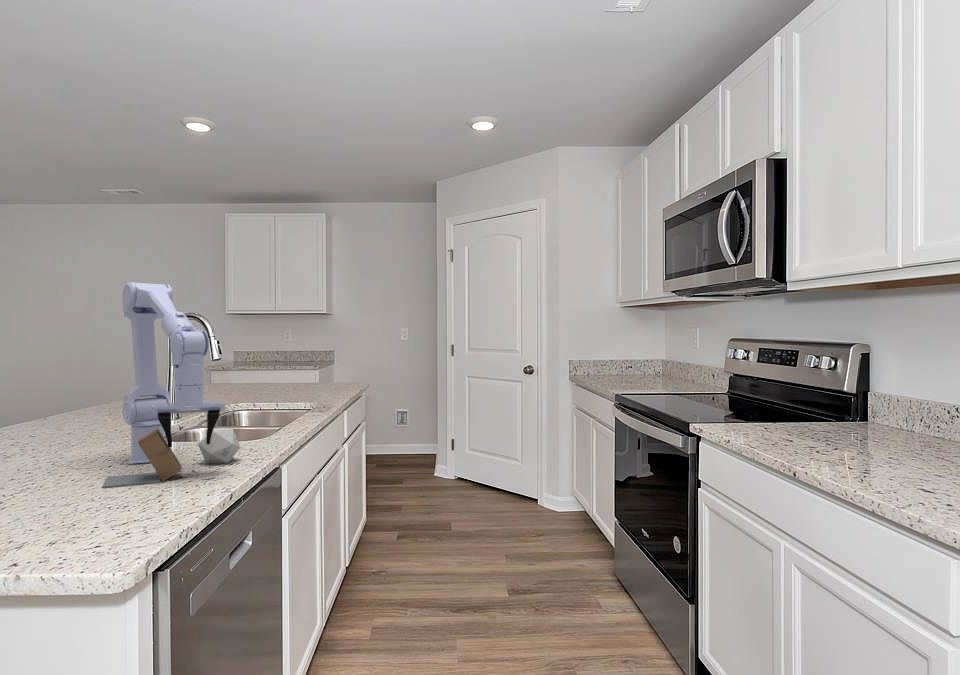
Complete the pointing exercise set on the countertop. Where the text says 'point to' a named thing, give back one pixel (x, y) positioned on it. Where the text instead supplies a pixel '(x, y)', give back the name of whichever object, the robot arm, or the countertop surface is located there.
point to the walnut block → (159, 454)
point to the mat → (131, 480)
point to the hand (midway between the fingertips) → (189, 445)
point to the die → (219, 446)
